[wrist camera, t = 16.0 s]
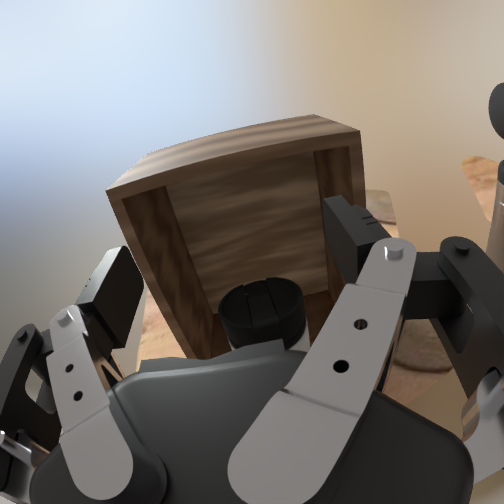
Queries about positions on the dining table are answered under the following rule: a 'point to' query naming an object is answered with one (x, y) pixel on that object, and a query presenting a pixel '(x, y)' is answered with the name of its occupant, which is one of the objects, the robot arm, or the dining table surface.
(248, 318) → the travel mug
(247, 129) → the cubby
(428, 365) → the dining table surface
